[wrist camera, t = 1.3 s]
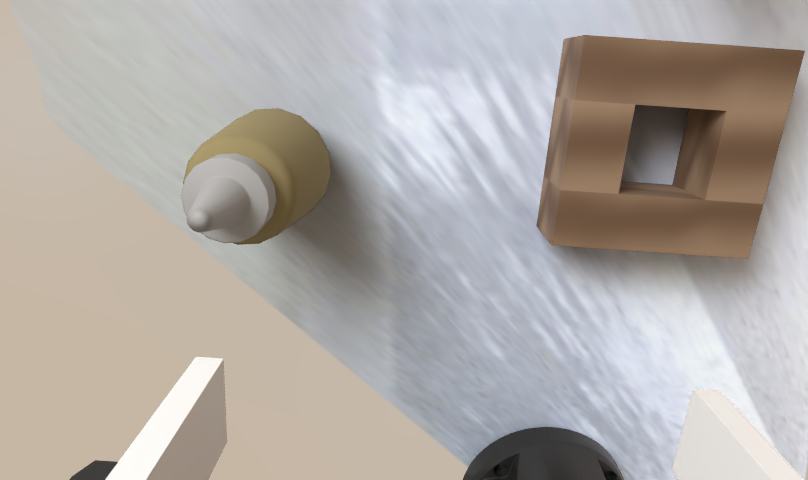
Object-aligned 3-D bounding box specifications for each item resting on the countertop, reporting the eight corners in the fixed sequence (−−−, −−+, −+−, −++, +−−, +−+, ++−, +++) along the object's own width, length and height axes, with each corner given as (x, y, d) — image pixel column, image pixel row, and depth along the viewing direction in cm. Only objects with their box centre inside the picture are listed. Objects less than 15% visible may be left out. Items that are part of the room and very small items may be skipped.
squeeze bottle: (332, 215, 44) (280, 311, 26) (230, 201, 43) (112, 289, 26) (343, 112, 41) (294, 145, 24) (235, 97, 41) (108, 118, 24)
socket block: (711, 237, 44) (748, 258, 39) (536, 225, 44) (552, 245, 39) (757, 52, 39) (804, 50, 35) (563, 39, 39) (584, 35, 35)
